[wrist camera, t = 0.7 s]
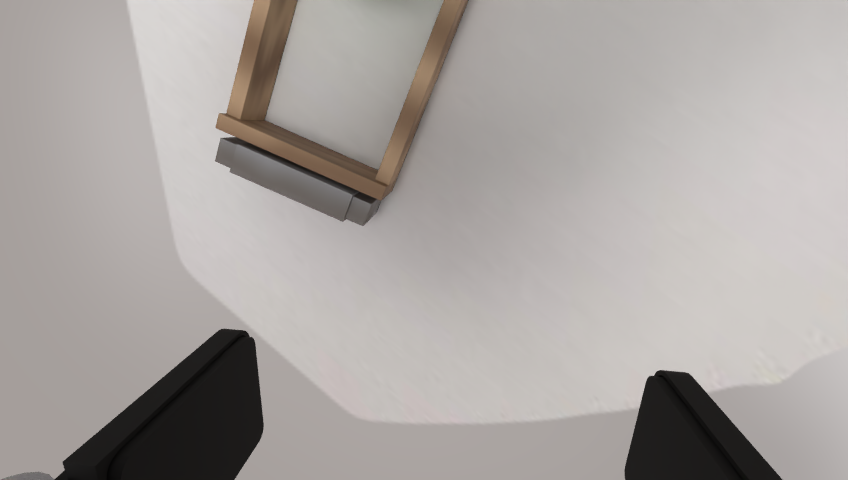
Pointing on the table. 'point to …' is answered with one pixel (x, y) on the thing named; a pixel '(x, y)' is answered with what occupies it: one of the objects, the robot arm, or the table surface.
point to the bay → (301, 158)
